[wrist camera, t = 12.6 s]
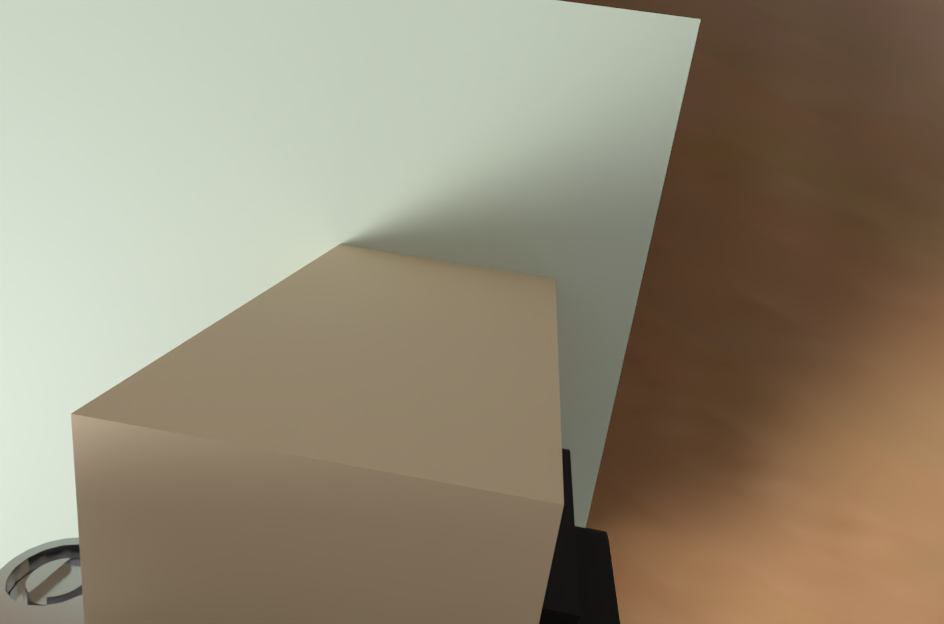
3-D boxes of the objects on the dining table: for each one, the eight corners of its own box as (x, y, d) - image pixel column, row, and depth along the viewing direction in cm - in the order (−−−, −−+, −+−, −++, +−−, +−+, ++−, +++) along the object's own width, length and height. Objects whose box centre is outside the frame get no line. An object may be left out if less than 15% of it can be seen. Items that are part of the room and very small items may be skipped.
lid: (685, 29, 11) (996, -162, 3) (527, 743, 16) (508, 1310, 9) (-110, -77, 12) (-1265, -410, 4) (-19, 629, 17) (-476, 1044, 10)
